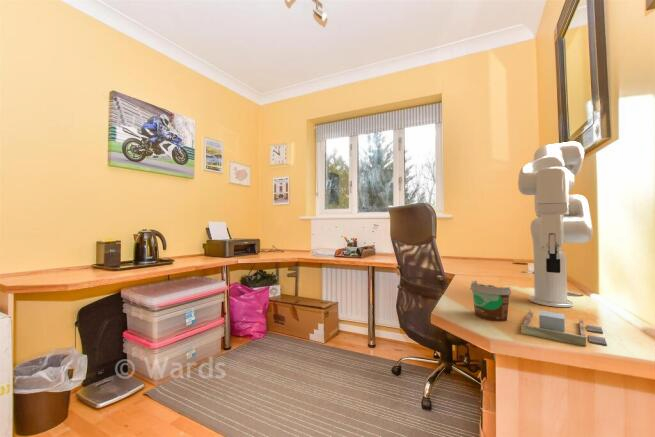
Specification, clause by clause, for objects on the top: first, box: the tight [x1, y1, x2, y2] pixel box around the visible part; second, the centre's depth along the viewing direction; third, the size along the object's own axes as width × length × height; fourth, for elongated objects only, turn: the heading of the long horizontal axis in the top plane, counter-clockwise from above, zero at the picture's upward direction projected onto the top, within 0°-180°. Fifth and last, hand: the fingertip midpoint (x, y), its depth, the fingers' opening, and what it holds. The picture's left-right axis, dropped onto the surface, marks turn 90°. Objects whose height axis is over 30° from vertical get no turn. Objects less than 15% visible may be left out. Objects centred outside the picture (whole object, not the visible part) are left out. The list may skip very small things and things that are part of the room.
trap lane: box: [520, 310, 608, 347], centre depth 78 cm, size 20×16×2 cm
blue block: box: [538, 310, 566, 333], centre depth 75 cm, size 5×5×5 cm
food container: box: [469, 280, 512, 322], centre depth 89 cm, size 12×6×10 cm, turn 23°
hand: (553, 272), depth 85 cm, fingers closed
